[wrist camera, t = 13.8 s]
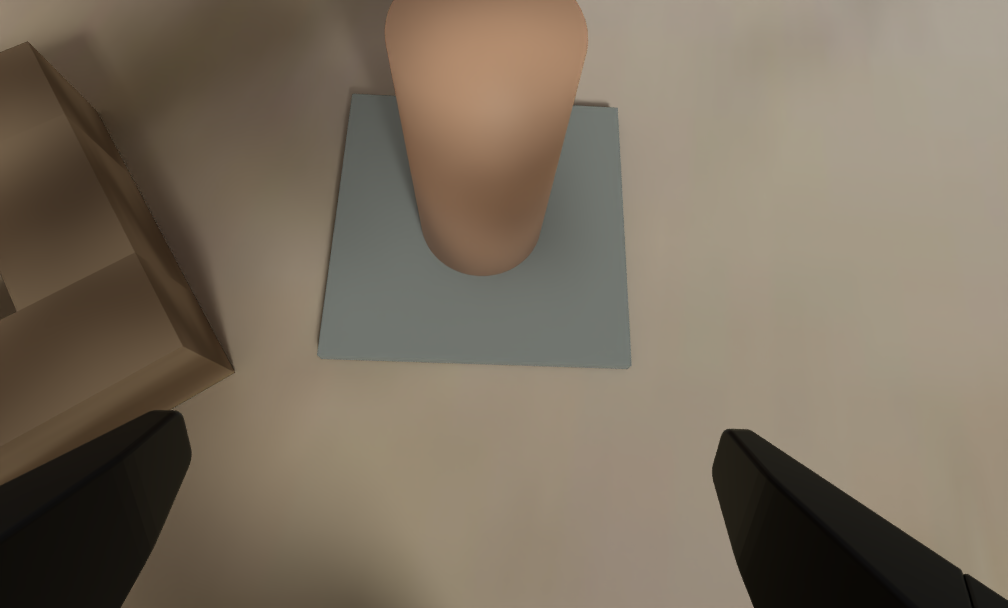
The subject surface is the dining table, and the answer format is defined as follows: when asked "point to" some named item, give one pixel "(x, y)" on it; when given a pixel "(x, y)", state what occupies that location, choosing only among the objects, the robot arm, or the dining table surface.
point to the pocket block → (82, 280)
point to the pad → (467, 298)
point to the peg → (484, 118)
